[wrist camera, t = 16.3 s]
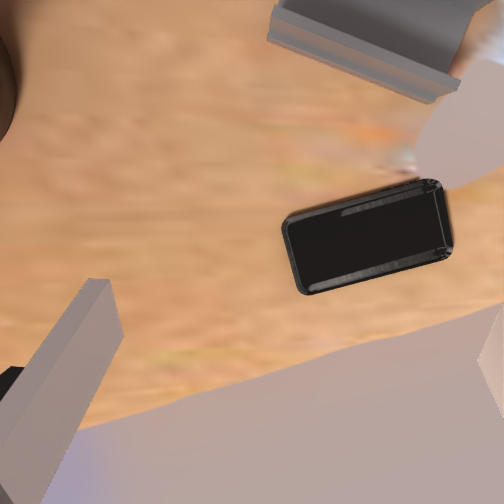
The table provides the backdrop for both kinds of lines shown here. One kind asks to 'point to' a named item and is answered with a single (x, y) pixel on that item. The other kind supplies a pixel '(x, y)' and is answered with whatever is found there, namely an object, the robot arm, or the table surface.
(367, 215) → the phone
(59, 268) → the table surface
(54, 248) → the table surface
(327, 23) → the rack
